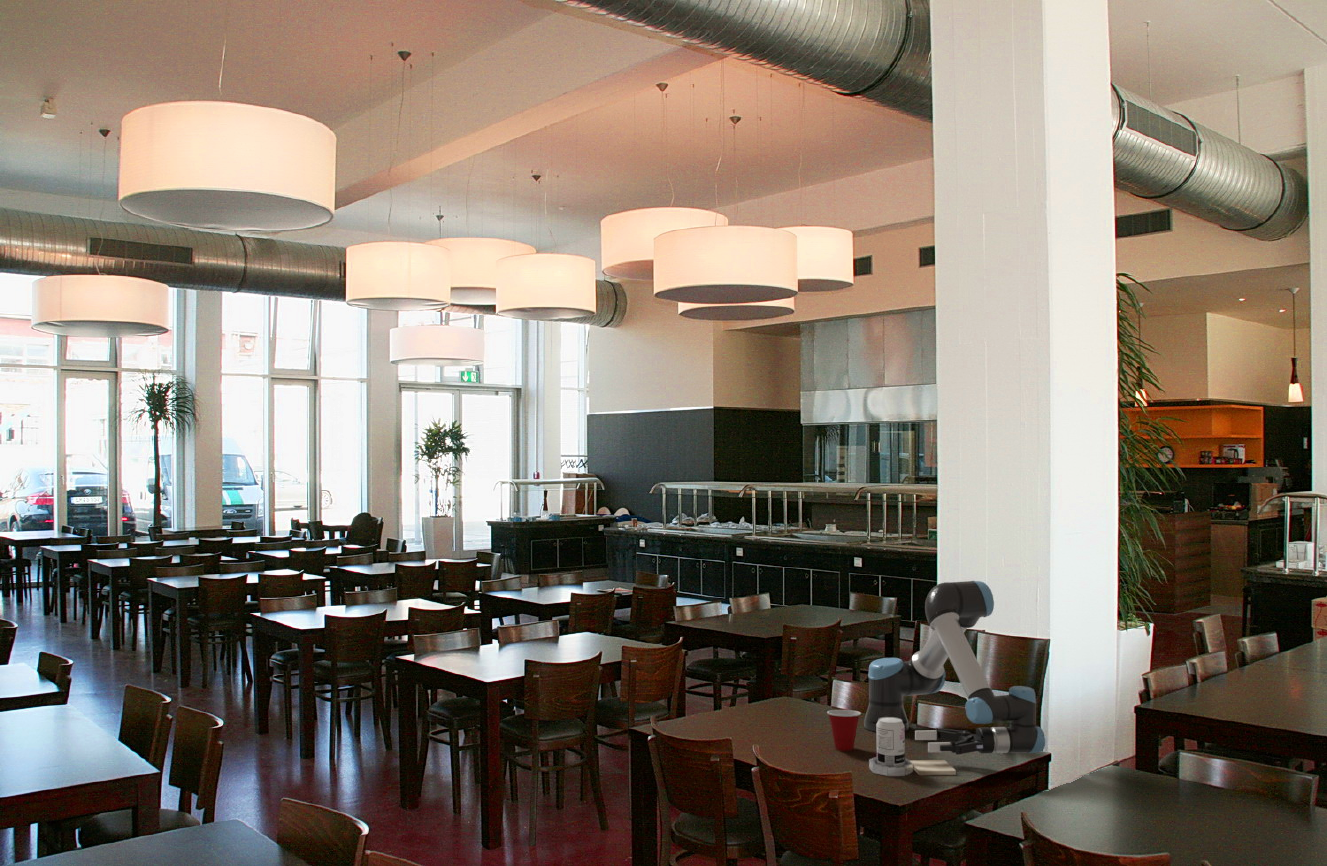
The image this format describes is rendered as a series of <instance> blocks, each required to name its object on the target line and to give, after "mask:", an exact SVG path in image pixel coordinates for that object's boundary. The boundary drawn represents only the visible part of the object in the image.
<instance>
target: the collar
mask: <svg viewBox="0 0 1327 866" xmlns="http://www.w3.org/2000/svg"><path fill="white" fill-rule="evenodd" d="M868 768H869V770H870V771H871V772H872V773H873V774H875V775H876V774H877V775H881V776H885V777H906V776H908V775H910V774H912V773H913V772H914V769H913V763H912V762H911V761H910V759H909V758H906V757H905V765H904V766H901V767H887V766H883V765H878V764H877V756H875V757H871V758H869V759H868ZM905 775H906V776H905Z"/></svg>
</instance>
